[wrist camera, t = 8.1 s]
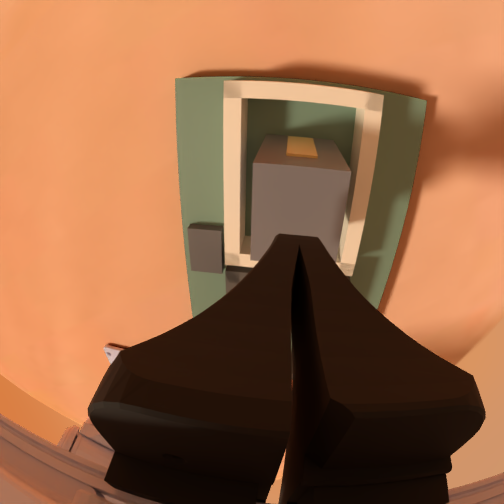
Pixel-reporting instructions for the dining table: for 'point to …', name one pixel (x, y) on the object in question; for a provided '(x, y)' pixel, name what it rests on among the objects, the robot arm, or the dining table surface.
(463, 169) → the dining table surface
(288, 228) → the plug
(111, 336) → the dining table surface
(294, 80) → the board
